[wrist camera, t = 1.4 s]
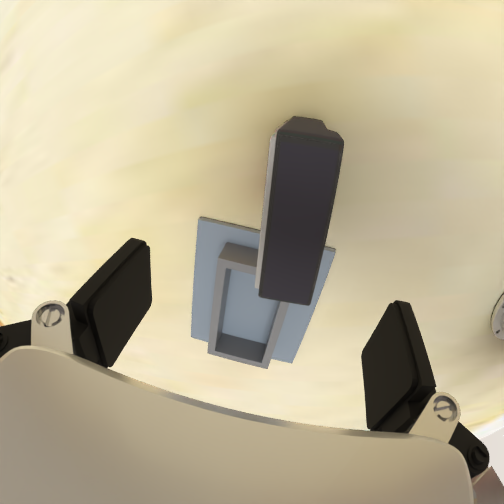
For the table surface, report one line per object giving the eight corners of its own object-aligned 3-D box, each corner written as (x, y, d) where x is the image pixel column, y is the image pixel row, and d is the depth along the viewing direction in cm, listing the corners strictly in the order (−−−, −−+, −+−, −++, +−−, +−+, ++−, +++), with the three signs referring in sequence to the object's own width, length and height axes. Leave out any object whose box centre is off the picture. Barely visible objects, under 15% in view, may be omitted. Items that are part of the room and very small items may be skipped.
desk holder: (335, 249, 33) (337, 270, 29) (292, 359, 43) (289, 382, 40) (200, 216, 34) (186, 233, 31) (192, 333, 45) (182, 354, 41)
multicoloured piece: (285, 114, 27) (261, 127, 14) (328, 121, 27) (345, 139, 14) (274, 214, 33) (246, 298, 20) (312, 220, 32) (309, 309, 19)
